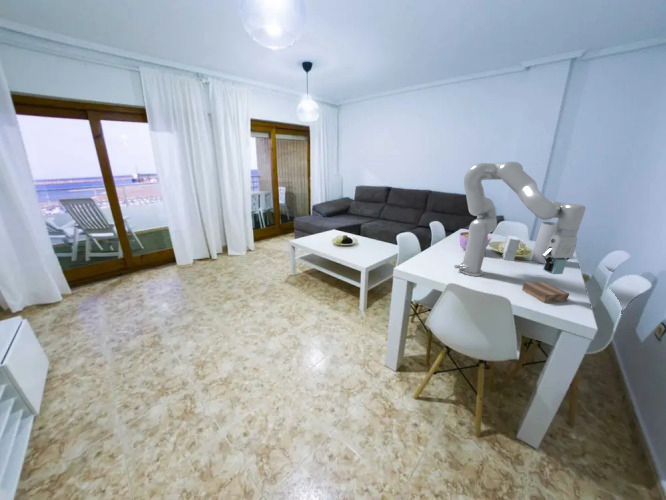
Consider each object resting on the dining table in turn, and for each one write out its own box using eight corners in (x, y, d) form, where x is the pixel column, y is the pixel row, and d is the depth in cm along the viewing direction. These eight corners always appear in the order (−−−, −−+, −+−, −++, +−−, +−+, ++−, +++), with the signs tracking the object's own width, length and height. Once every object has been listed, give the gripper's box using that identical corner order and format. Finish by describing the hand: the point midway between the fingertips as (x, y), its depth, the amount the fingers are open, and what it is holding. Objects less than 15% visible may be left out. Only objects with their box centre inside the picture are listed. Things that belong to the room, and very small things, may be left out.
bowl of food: (493, 253, 178) (497, 237, 174) (477, 258, 168) (481, 241, 164) (466, 245, 194) (469, 230, 190) (450, 249, 184) (453, 234, 180)
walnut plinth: (543, 302, 115) (546, 295, 113) (521, 290, 126) (524, 282, 125) (566, 301, 116) (569, 293, 115) (542, 289, 128) (545, 281, 126)
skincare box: (501, 255, 173) (507, 235, 168) (511, 257, 171) (517, 236, 166) (503, 259, 166) (509, 238, 161) (514, 261, 163) (520, 239, 158)
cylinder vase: (531, 261, 163) (542, 224, 155) (529, 256, 173) (540, 220, 165) (555, 266, 157) (569, 227, 149) (553, 260, 167) (565, 223, 158)
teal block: (552, 274, 114) (557, 260, 112) (542, 269, 119) (547, 256, 116) (562, 273, 115) (567, 259, 112) (551, 269, 119) (556, 255, 117)
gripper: (556, 235, 106) (544, 274, 112) (591, 234, 108) (577, 272, 114) (540, 230, 113) (529, 267, 119) (573, 229, 115) (560, 266, 121)
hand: (552, 269), depth 116 cm, fingers closed on teal block, 5 cm apart
